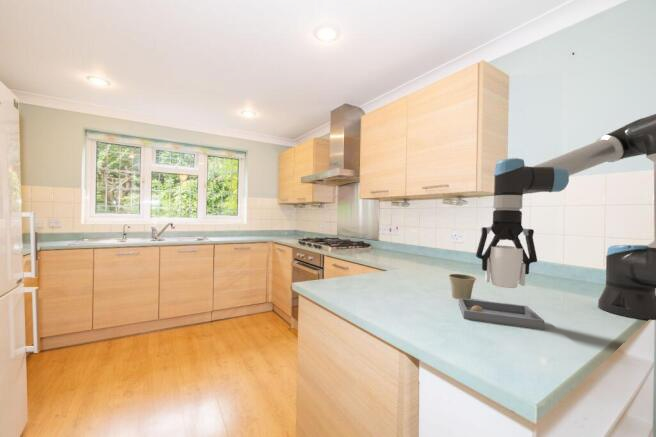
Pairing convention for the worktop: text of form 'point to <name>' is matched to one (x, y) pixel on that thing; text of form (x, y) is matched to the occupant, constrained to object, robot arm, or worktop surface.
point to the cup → (505, 266)
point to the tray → (501, 313)
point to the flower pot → (461, 285)
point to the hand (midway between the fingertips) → (504, 282)
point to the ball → (477, 308)
